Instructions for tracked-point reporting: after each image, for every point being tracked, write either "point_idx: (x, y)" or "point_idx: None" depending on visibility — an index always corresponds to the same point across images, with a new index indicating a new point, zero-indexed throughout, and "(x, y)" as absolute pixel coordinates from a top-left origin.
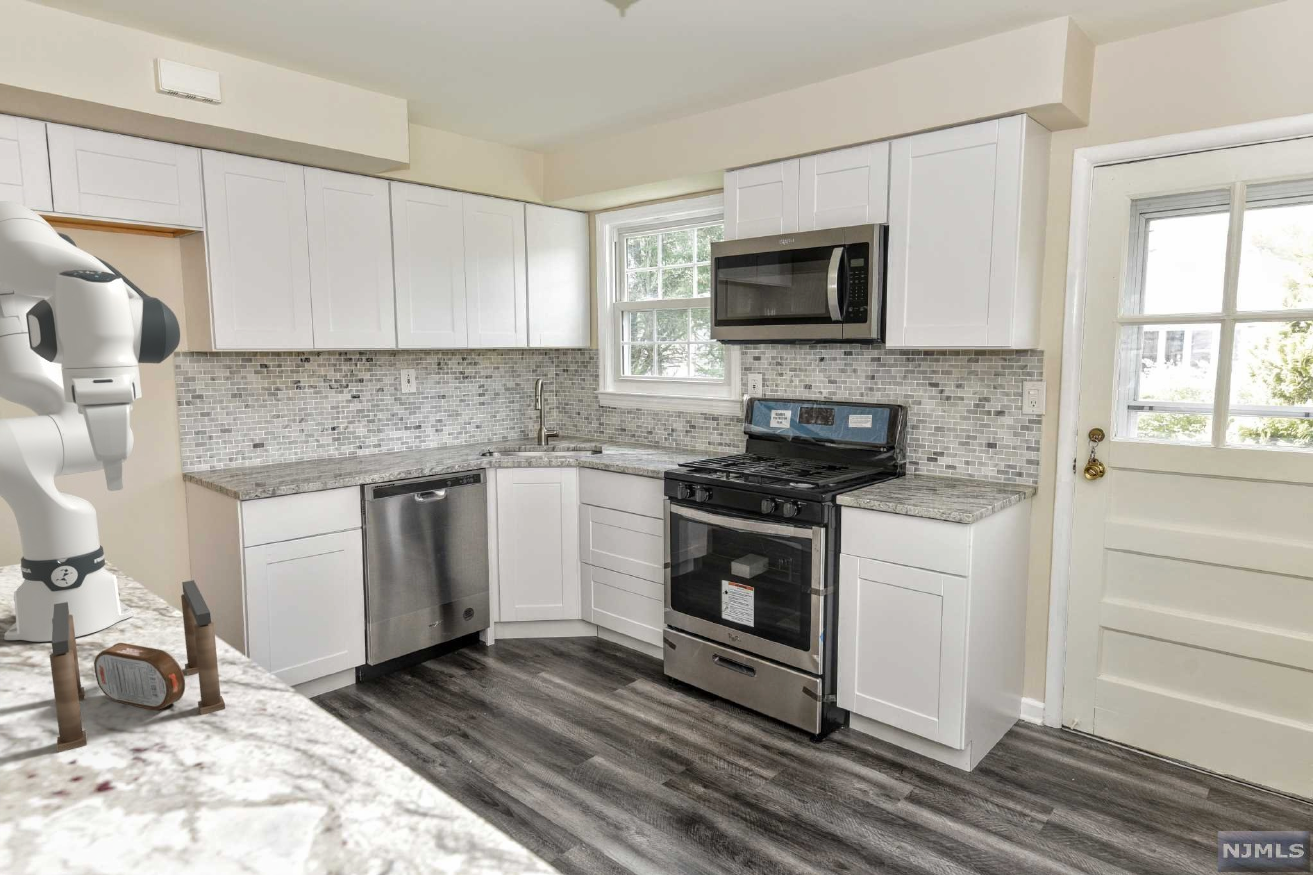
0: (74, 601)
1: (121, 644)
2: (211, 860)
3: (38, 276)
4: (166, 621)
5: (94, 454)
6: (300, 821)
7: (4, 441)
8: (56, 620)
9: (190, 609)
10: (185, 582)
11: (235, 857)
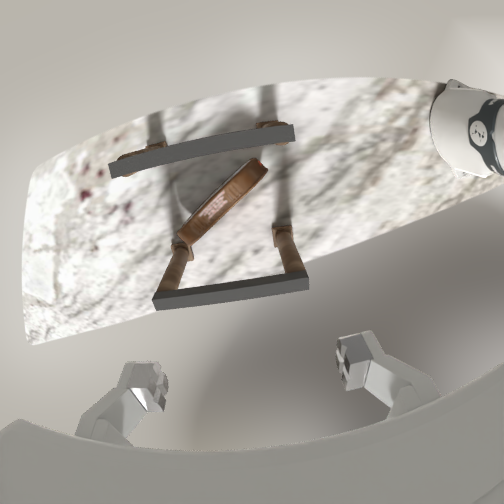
0: (458, 135)
1: (242, 193)
2: (23, 258)
3: None
4: (429, 204)
5: (5, 429)
6: (43, 293)
7: None
8: (201, 142)
9: (284, 267)
10: (304, 280)
11: (24, 267)
